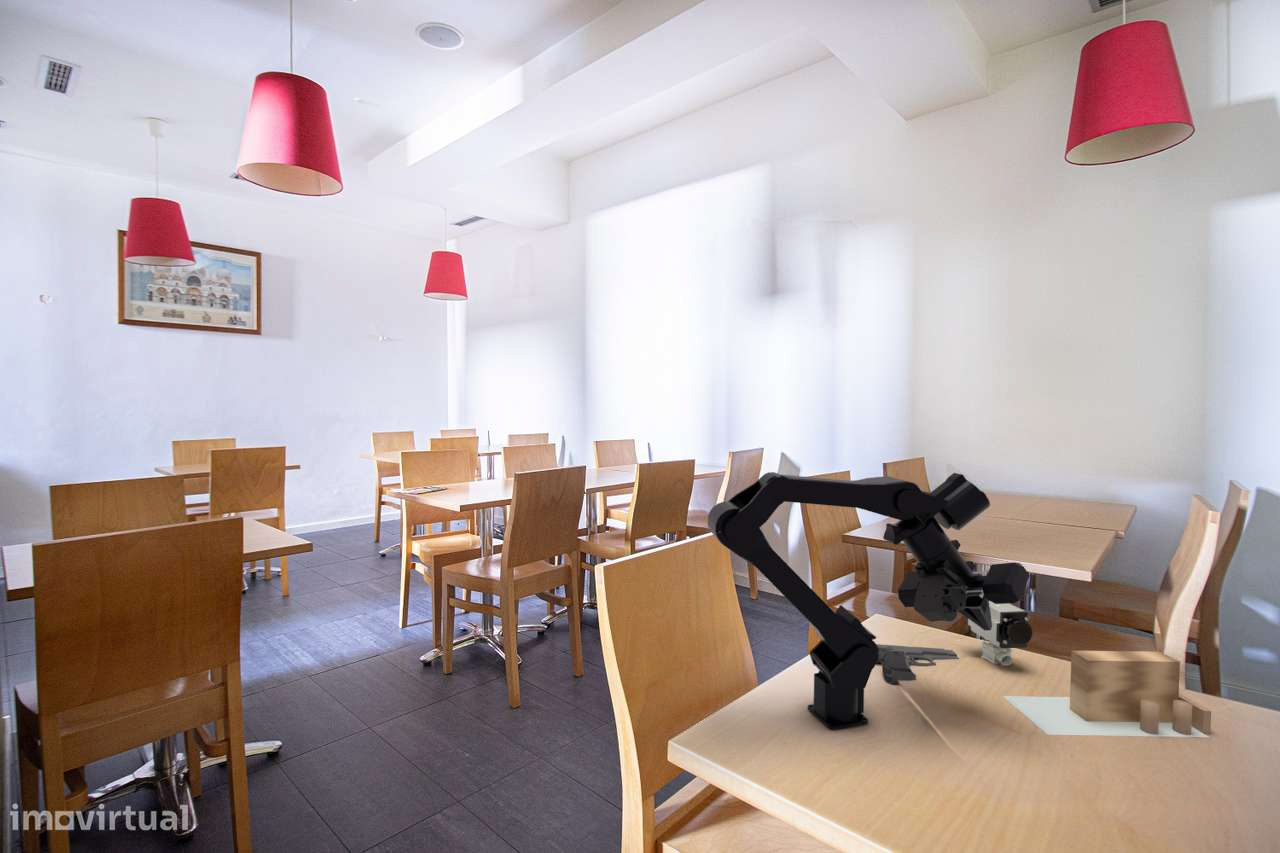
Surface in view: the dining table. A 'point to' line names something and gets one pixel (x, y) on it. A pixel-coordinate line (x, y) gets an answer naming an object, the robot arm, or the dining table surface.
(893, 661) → the handgun
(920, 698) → the dining table surface
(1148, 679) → the brown wooden block
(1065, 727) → the panel
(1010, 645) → the pneumatic valve
